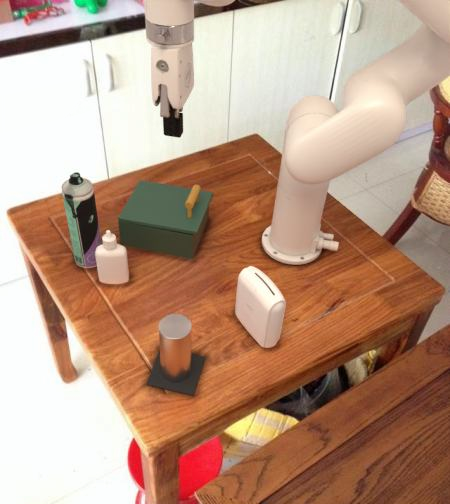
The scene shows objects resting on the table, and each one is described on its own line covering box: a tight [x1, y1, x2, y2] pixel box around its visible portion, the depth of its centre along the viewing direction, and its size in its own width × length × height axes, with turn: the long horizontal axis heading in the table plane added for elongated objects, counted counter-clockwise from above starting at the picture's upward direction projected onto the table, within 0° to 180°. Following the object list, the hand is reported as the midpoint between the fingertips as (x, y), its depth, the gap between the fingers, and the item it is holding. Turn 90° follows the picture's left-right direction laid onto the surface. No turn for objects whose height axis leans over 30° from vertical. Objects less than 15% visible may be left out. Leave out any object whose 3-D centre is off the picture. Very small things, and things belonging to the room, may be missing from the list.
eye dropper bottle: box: [95, 229, 130, 285], centre depth 103 cm, size 4×6×12 cm
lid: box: [117, 179, 214, 235], centre depth 110 cm, size 16×13×5 cm
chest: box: [117, 206, 210, 260], centre depth 115 cm, size 15×13×6 cm
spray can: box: [61, 171, 103, 269], centre depth 103 cm, size 6×6×20 cm
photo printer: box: [234, 265, 287, 349], centre depth 96 cm, size 10×4×12 cm, turn 32°
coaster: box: [145, 349, 207, 397], centre depth 94 cm, size 8×8×1 cm
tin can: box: [158, 313, 193, 383], centre depth 89 cm, size 5×5×12 cm
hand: (173, 134), depth 101 cm, fingers closed
